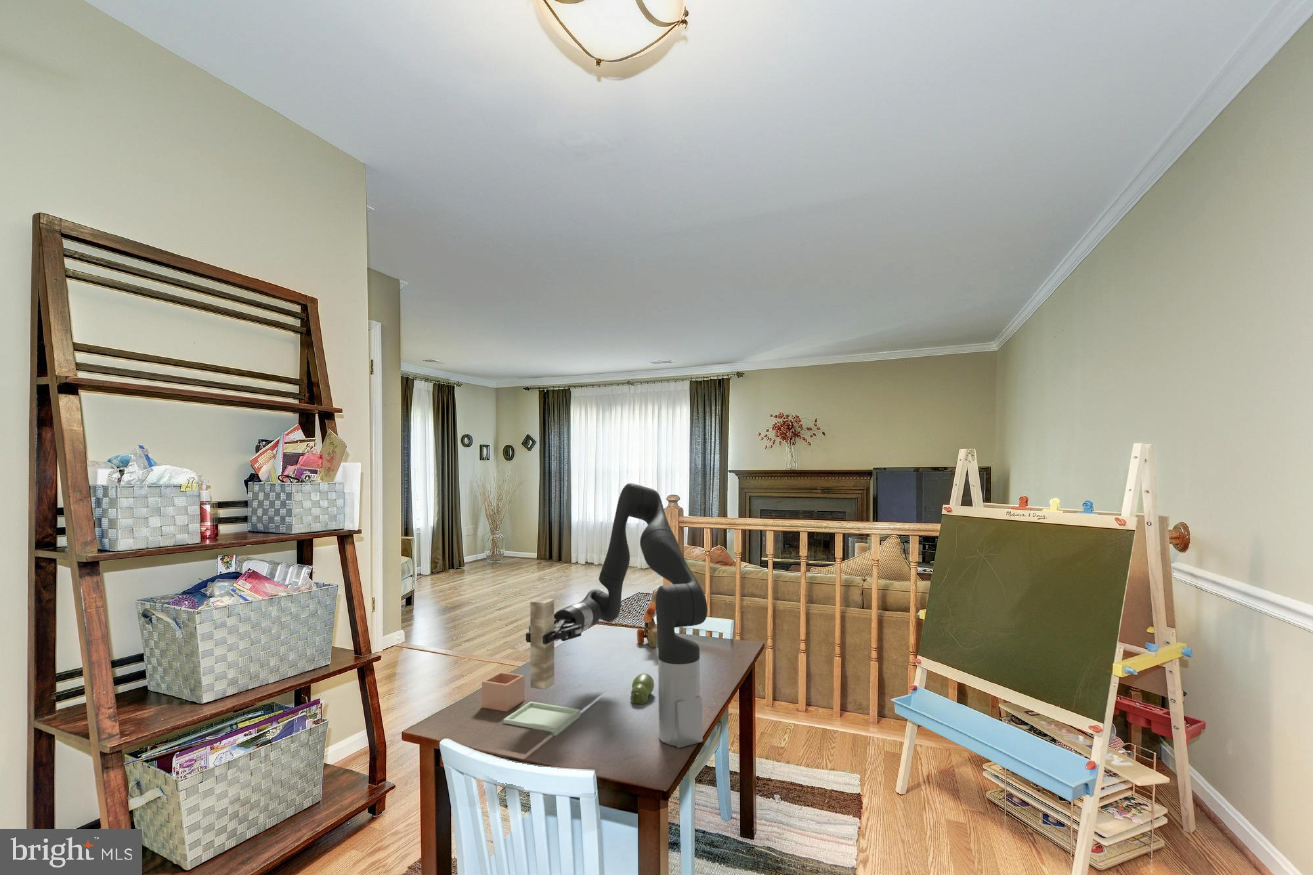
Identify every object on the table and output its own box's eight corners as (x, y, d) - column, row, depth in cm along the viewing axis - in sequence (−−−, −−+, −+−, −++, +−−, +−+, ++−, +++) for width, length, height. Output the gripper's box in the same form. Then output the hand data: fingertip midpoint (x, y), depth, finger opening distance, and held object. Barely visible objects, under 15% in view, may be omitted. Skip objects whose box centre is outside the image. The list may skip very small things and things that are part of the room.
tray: (580, 716, 143) (580, 709, 143) (555, 735, 132) (555, 728, 132) (530, 708, 148) (530, 701, 148) (503, 726, 138) (503, 719, 138)
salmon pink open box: (524, 703, 151) (524, 675, 151) (506, 714, 144) (506, 685, 144) (500, 699, 154) (500, 671, 154) (481, 710, 147) (481, 681, 147)
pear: (656, 670, 158) (647, 690, 148) (656, 689, 158) (648, 710, 149) (635, 669, 159) (625, 689, 149) (636, 687, 160) (626, 708, 150)
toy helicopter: (659, 639, 206) (659, 598, 206) (672, 658, 185) (671, 613, 186) (636, 640, 204) (635, 600, 205) (646, 660, 184) (645, 614, 184)
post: (554, 683, 142) (553, 599, 143) (545, 689, 138) (544, 603, 139) (540, 681, 143) (539, 597, 144) (530, 687, 140) (530, 601, 140)
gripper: (549, 603, 157) (510, 620, 141) (597, 607, 152) (562, 625, 136) (549, 632, 157) (510, 652, 141) (597, 637, 152) (562, 659, 136)
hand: (535, 639), depth 139 cm, fingers closed on post, 4 cm apart
